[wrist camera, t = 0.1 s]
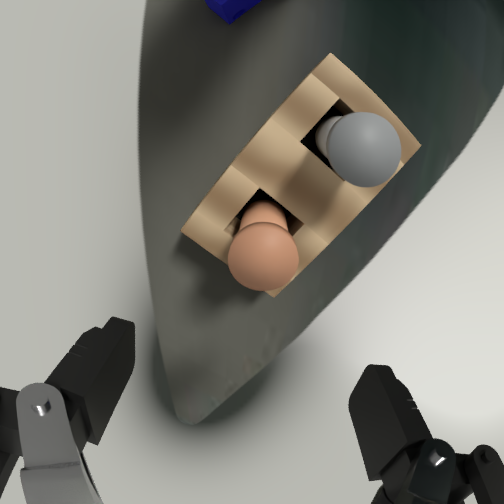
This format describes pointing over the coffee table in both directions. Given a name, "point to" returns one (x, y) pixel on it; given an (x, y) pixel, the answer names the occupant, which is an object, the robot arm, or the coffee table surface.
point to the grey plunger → (360, 147)
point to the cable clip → (231, 8)
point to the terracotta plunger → (263, 248)
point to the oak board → (295, 169)
